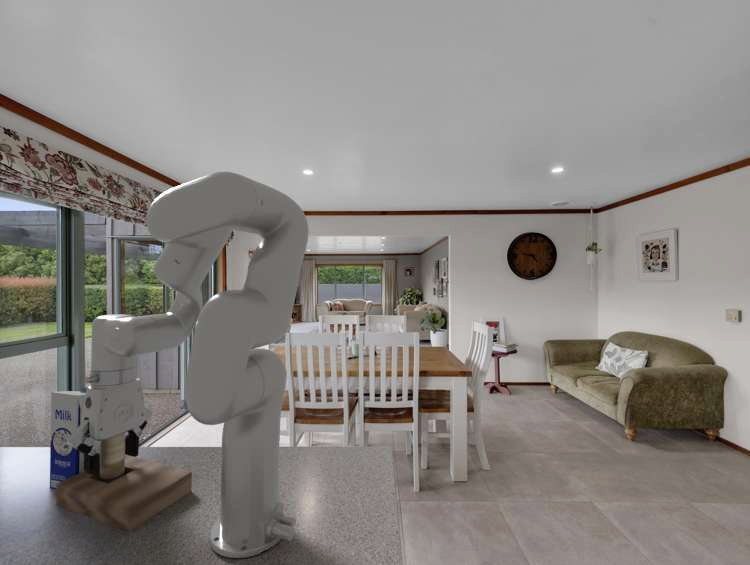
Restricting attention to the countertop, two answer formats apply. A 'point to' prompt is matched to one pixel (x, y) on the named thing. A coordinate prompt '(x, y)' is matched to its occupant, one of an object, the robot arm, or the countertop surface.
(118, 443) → the maple peg
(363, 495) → the countertop surface
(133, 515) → the walnut board
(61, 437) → the milk carton
